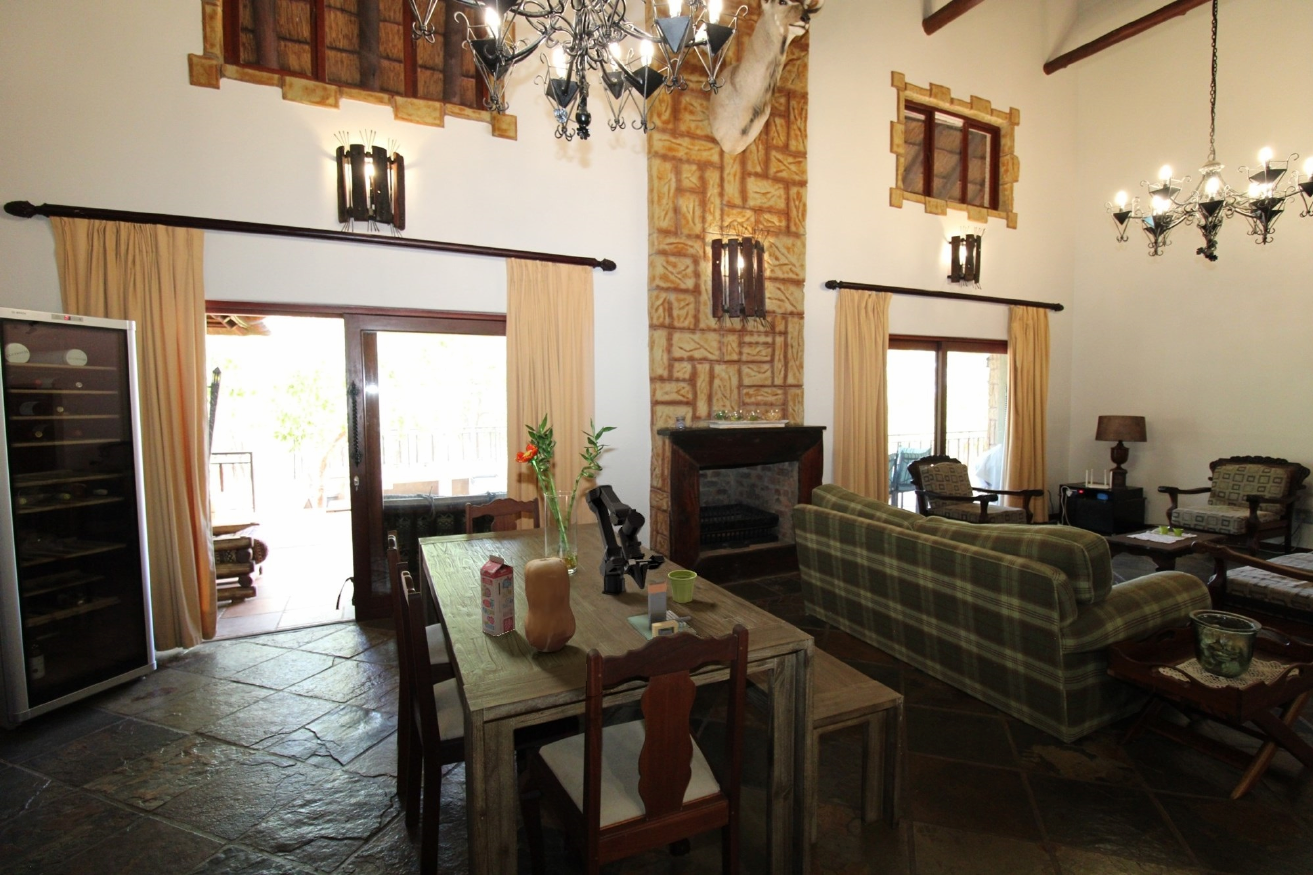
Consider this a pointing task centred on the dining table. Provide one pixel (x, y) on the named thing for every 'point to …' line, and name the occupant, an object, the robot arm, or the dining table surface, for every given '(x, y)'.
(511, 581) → the juice carton
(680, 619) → the orange-rimmed grey tower
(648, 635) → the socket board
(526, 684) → the dining table surface
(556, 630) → the butternut squash
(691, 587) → the plant pot
